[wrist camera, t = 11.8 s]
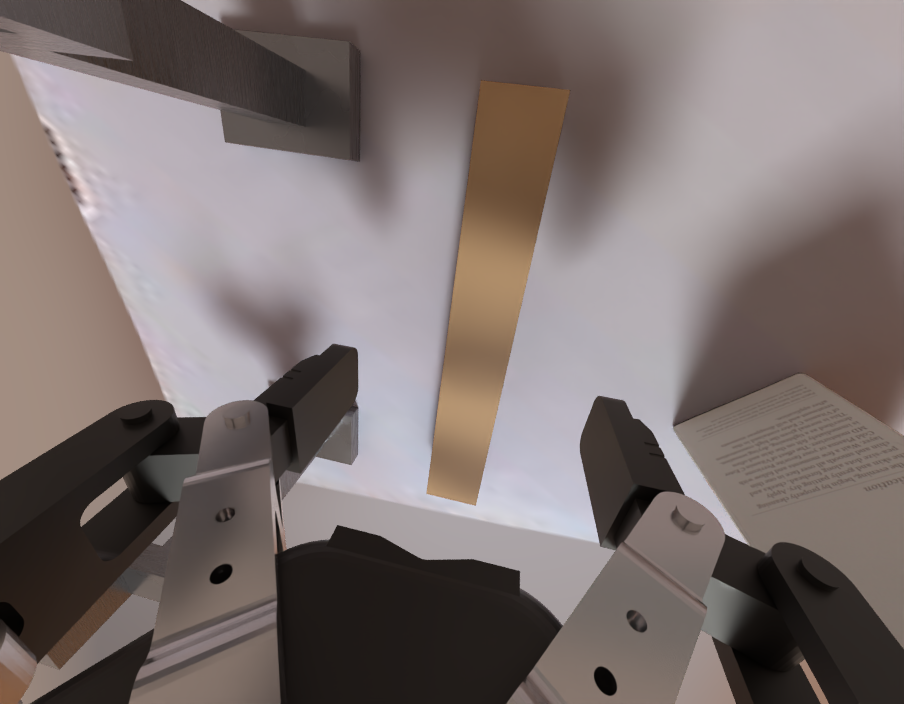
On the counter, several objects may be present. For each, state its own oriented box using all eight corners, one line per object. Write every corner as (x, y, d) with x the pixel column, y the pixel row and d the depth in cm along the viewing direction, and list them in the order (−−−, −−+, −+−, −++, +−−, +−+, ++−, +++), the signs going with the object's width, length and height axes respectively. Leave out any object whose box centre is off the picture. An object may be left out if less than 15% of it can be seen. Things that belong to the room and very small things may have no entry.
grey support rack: (227, 36, 15) (-1115, -668, 3) (360, 51, 14) (-599, -788, 2) (278, 436, 24) (43, 674, 12) (357, 454, 24) (192, 724, 12)
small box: (863, 479, 18) (1483, 1001, 6) (732, 518, 21) (1009, 943, 9) (804, 366, 16) (1528, 813, 5) (668, 423, 19) (912, 807, 7)
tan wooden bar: (488, 100, 14) (481, 80, 12) (560, 109, 14) (570, 90, 11) (437, 458, 23) (426, 493, 21) (480, 468, 23) (475, 505, 20)
